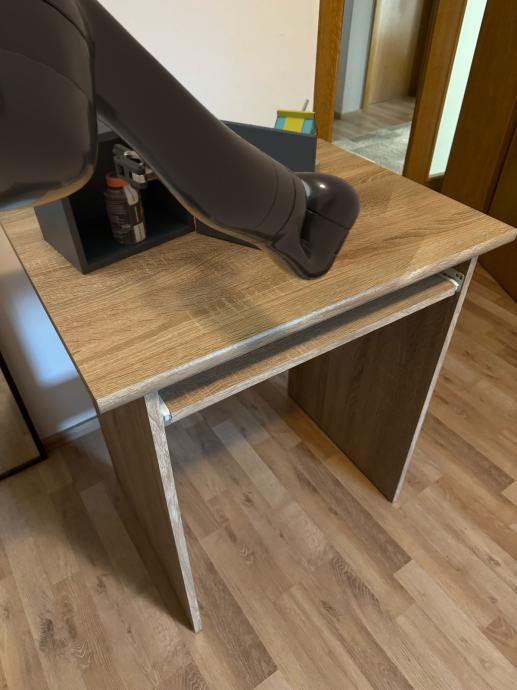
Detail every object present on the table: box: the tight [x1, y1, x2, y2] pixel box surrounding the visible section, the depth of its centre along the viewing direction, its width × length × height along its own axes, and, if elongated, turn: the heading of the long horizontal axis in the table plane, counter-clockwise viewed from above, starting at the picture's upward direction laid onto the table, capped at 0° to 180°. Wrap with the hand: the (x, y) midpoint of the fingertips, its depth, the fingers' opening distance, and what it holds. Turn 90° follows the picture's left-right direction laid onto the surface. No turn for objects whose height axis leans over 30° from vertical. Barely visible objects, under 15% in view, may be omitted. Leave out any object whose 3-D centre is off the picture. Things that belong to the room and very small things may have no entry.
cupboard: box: [32, 119, 196, 275], centre depth 83 cm, size 16×22×20 cm
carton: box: [273, 98, 319, 150], centre depth 94 cm, size 7×8×18 cm
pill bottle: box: [104, 171, 147, 244], centre depth 82 cm, size 6×6×11 cm
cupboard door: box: [194, 119, 321, 250], centre depth 80 cm, size 6×22×20 cm, turn 61°
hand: (144, 144), depth 68 cm, fingers open, 8 cm apart
